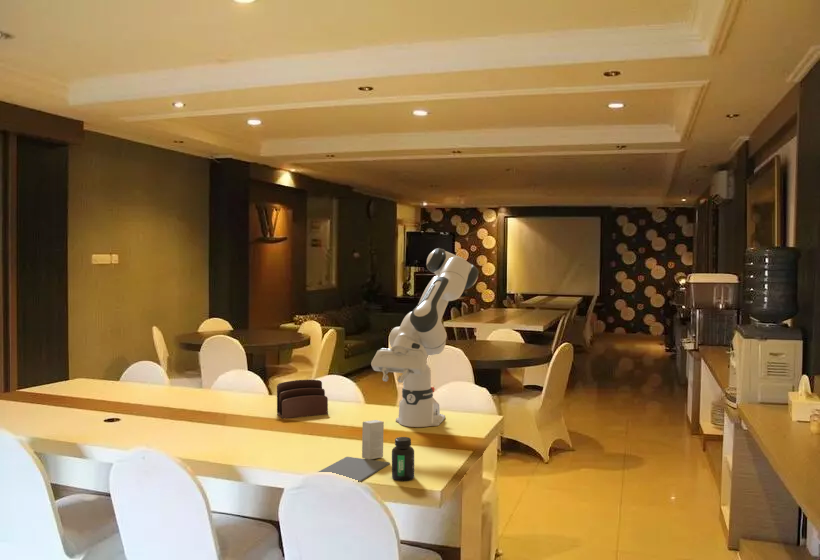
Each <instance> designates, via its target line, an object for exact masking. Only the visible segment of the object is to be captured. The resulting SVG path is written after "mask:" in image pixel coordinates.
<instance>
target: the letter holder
mask: <svg viewBox="0 0 820 560" xmlns="http://www.w3.org/2000/svg"><path fill="white" fill-rule="evenodd" d="M328 401H329V398H328V396H326V391H325V389H324V388H323V382H322V380H318V379H297V380H287V381H285V382H279V383H278V384H277V386H276V414H277V416H279V417H280V418H281V419H282V420H283V419H292V418H302V417H312V416H314V417H315V416H322V415H324V416H325V415H328V414H329V408H328V407H329V406H328V405H329V403H328Z"/></svg>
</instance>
